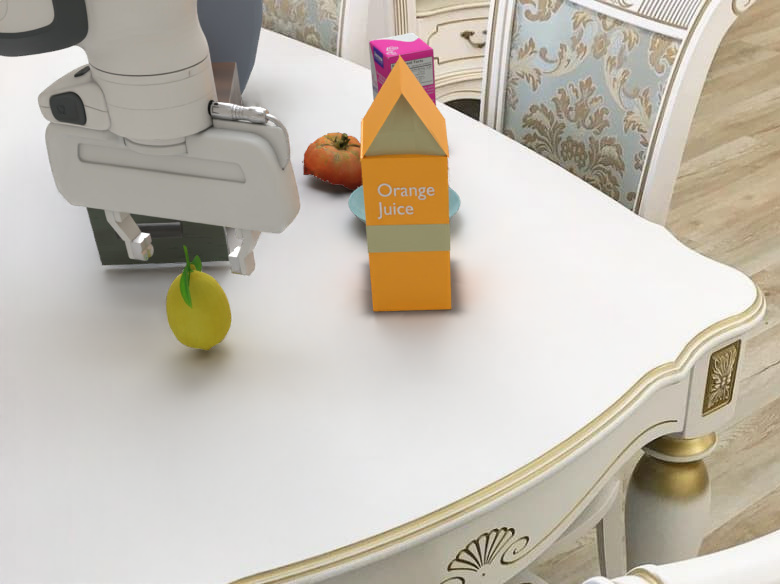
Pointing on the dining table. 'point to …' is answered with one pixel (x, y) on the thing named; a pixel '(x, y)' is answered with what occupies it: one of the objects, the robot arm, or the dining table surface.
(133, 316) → the dining table surface
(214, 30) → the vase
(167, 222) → the drawer
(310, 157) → the tomato
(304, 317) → the dining table surface
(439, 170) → the orange juice
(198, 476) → the dining table surface
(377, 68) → the supplement box
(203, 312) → the lemon
